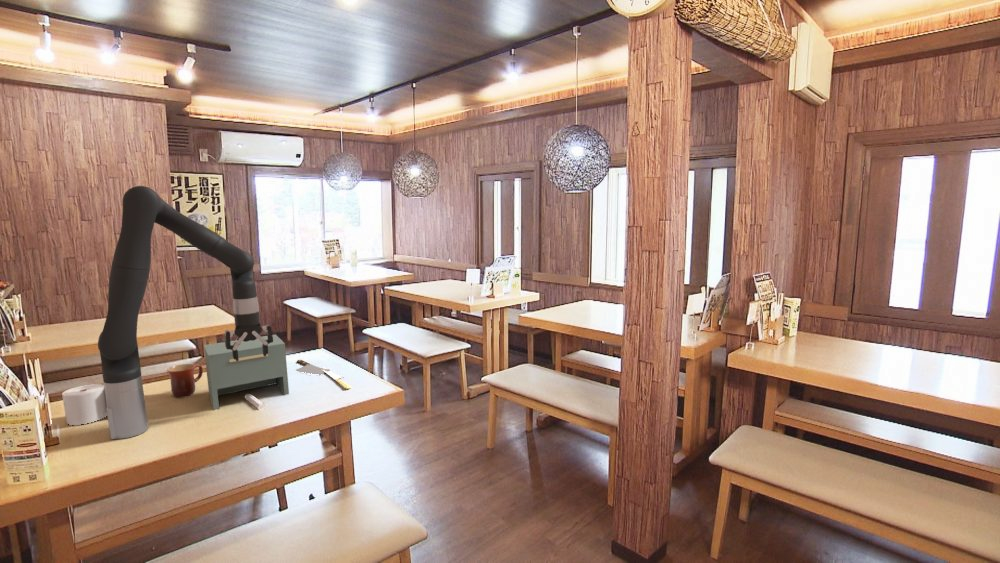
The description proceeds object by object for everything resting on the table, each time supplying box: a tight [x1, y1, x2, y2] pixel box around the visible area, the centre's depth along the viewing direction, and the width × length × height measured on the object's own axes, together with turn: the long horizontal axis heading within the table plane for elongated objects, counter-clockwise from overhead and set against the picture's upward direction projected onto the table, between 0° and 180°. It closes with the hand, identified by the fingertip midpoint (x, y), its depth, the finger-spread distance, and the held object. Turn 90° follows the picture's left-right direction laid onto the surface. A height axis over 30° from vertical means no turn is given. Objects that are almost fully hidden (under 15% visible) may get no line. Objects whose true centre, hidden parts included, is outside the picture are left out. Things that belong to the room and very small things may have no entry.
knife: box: [321, 366, 352, 390], centre depth 202 cm, size 1×34×5 cm
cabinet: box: [203, 333, 290, 411], centre depth 183 cm, size 24×16×19 cm
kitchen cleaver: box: [295, 359, 331, 376], centre depth 214 cm, size 24×1×10 cm
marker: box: [244, 393, 266, 410], centre depth 178 cm, size 3×2×16 cm
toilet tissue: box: [61, 383, 108, 426], centre depth 166 cm, size 11×12×10 cm
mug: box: [166, 363, 204, 398], centre depth 187 cm, size 12×9×10 cm
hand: (251, 357), depth 171 cm, fingers open, 8 cm apart
